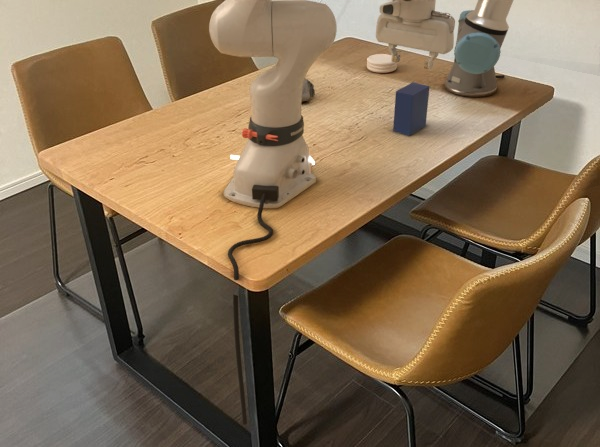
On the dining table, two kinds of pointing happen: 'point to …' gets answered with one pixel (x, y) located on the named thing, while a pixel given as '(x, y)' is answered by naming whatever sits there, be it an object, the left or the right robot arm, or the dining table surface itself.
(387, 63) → the coaster
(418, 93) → the brick
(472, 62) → the right robot arm
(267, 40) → the left robot arm
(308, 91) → the rock
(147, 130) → the dining table surface
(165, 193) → the dining table surface
